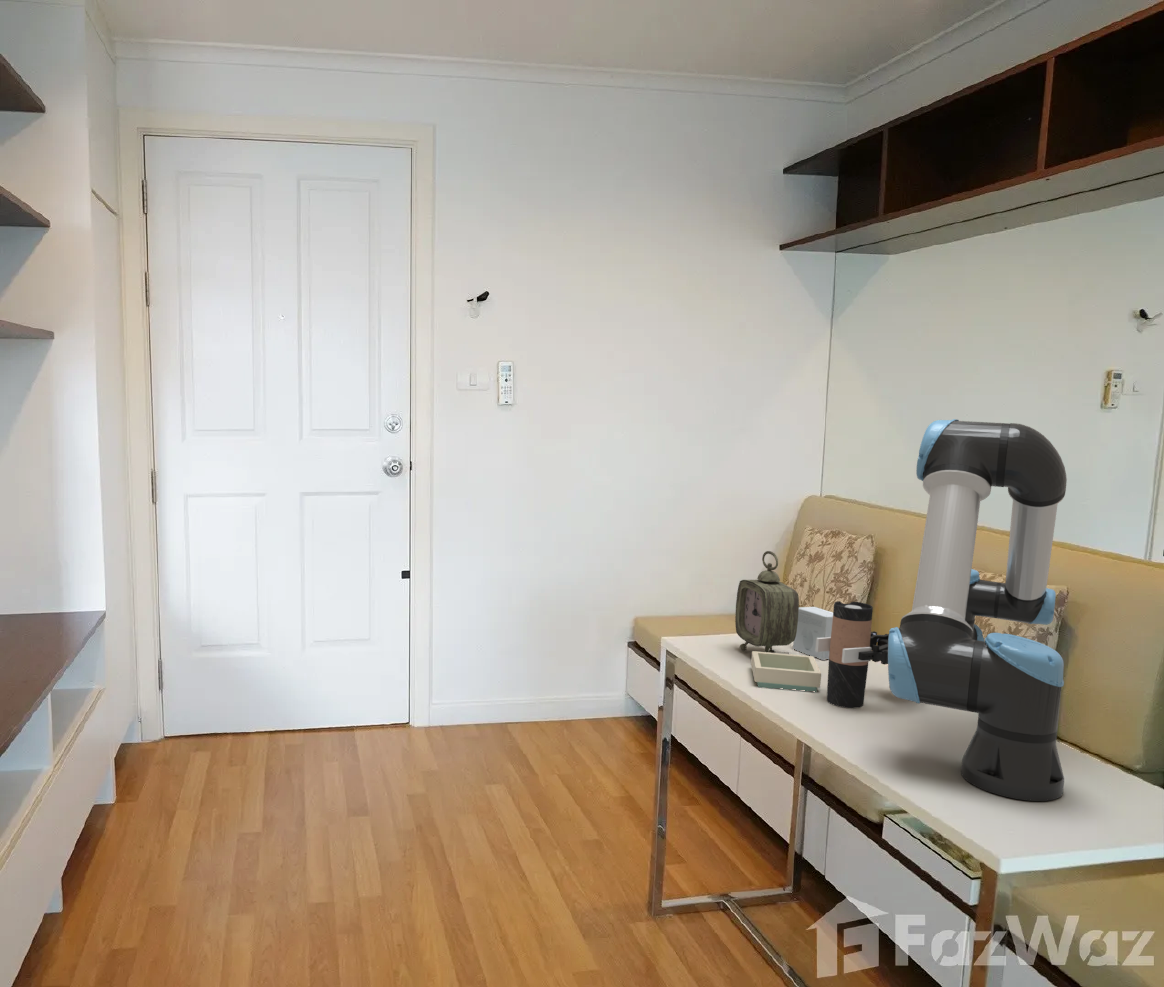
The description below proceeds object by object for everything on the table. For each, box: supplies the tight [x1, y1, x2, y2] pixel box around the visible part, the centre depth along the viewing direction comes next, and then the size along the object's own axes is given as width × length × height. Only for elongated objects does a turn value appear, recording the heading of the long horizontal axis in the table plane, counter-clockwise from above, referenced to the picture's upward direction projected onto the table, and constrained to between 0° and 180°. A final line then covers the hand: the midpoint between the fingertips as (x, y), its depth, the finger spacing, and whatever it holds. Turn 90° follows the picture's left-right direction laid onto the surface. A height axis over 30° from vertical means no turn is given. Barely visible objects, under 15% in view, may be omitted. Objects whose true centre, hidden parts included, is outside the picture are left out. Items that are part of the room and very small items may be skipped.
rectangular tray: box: [750, 650, 822, 693], centre depth 204 cm, size 18×13×4 cm
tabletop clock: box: [734, 550, 800, 653], centre depth 220 cm, size 14×9×25 cm, turn 17°
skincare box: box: [792, 606, 833, 661], centre depth 226 cm, size 10×6×10 cm, turn 29°
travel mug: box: [826, 600, 874, 709], centre depth 189 cm, size 8×8×20 cm
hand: (830, 650), depth 186 cm, fingers closed on travel mug, 7 cm apart
